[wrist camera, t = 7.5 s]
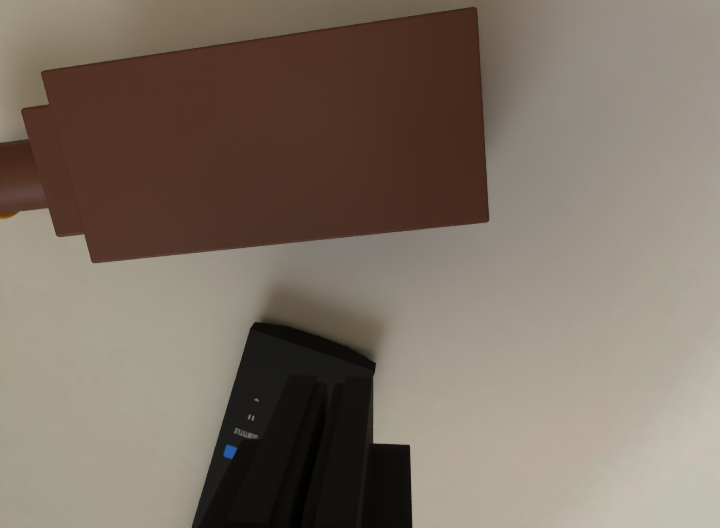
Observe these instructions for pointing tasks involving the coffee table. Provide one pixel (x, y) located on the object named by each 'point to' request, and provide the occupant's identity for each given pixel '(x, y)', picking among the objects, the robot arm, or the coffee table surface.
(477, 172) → the bottle
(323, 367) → the remote control
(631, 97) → the coffee table surface
